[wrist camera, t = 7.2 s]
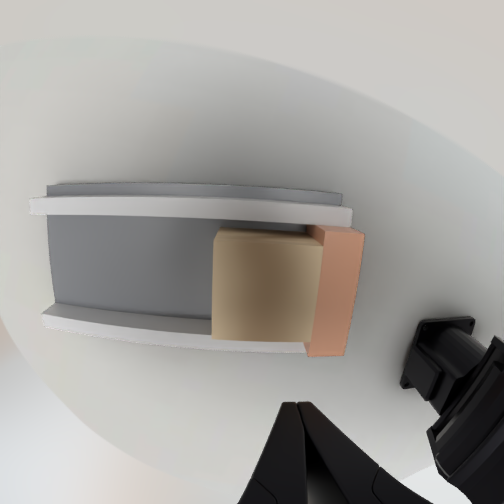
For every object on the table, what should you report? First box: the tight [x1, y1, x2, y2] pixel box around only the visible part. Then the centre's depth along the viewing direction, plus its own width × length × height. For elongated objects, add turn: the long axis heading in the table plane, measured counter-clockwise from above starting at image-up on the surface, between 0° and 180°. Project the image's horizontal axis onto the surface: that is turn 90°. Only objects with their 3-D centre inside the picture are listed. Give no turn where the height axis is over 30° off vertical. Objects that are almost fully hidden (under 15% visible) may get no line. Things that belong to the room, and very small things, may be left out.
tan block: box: [212, 227, 323, 342], centre depth 16 cm, size 5×5×4 cm
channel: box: [29, 183, 365, 357], centre depth 16 cm, size 19×10×5 cm, turn 87°
